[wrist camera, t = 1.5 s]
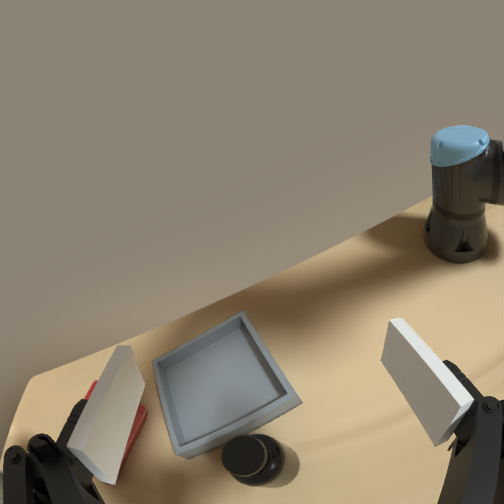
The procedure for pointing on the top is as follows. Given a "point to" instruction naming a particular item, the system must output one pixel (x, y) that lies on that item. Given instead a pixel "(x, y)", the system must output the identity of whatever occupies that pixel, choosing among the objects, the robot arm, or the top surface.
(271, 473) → the supplement bottle
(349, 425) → the top surface
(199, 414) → the tray
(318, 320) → the top surface
